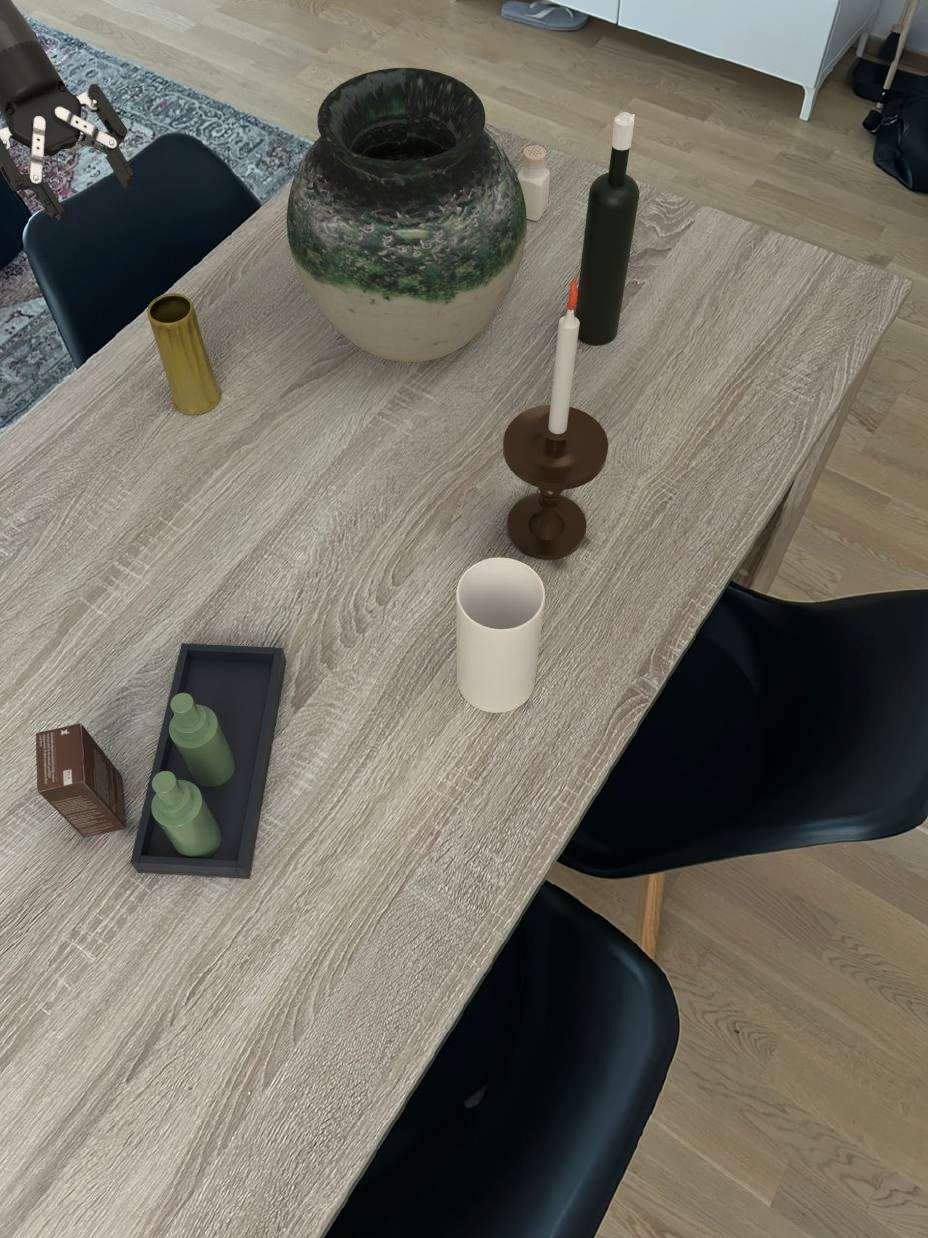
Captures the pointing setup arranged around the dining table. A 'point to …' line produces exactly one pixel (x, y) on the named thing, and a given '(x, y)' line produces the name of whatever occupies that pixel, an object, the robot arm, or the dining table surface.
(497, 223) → the vase
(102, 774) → the box
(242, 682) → the tray
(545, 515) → the candlestick
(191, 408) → the vase
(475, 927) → the dining table surface
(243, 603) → the dining table surface
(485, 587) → the cup
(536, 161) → the pepper shaker
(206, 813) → the bottles
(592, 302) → the wine bottle
